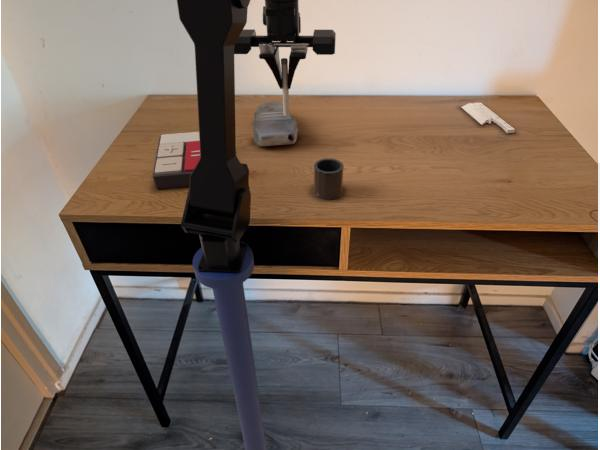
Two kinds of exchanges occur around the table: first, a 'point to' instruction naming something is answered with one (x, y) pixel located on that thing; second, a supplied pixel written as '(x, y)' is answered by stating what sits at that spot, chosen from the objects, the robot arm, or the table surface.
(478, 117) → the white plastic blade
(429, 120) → the table surface
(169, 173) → the calculator
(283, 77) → the stylus
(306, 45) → the robot arm
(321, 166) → the pen cup
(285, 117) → the handheld device
